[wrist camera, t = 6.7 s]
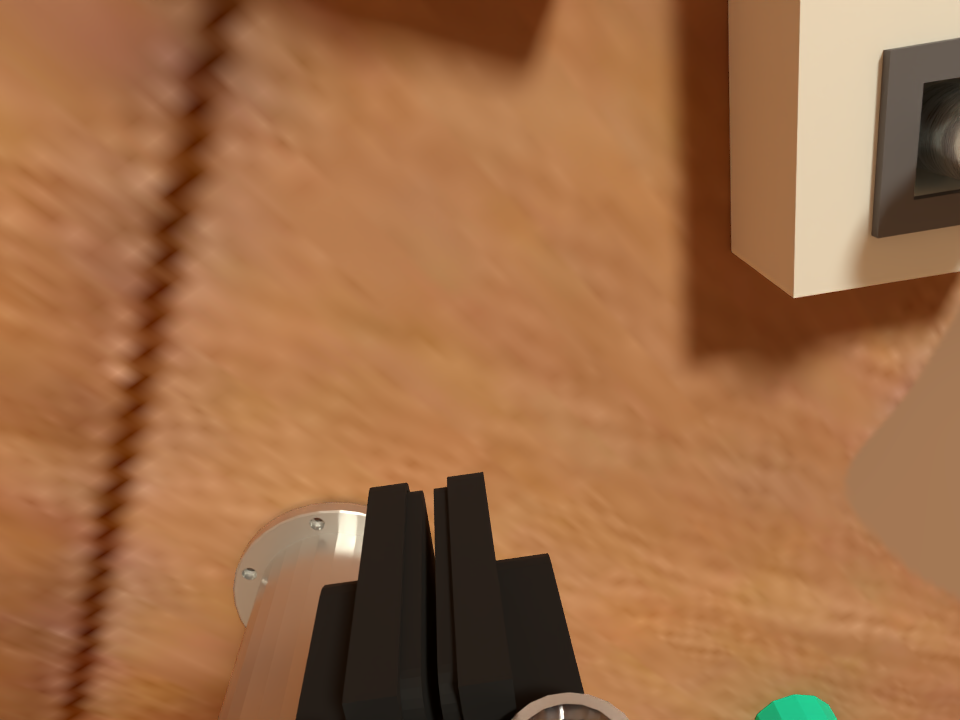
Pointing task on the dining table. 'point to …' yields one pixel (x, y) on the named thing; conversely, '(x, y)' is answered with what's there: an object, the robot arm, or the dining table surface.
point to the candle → (797, 709)
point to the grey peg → (940, 130)
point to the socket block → (839, 141)
